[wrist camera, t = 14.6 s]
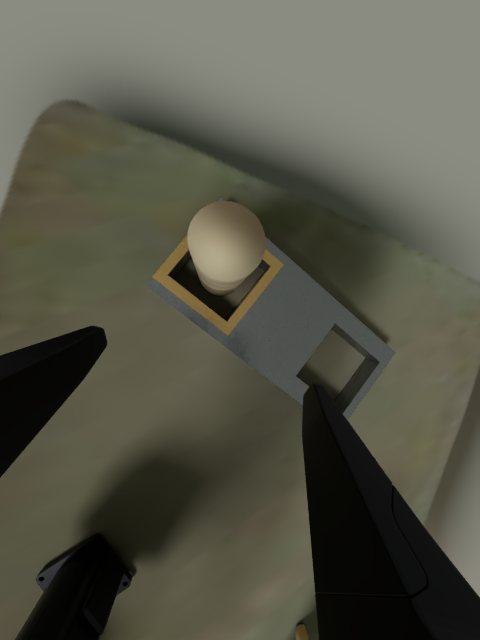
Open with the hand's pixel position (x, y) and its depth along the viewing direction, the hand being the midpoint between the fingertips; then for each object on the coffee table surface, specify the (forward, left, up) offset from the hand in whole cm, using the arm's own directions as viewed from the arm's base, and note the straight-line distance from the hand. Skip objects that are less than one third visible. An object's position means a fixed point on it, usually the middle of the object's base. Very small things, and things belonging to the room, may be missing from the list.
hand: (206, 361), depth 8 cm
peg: (+4, +5, -13) cm, 14 cm away
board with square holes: (+7, -3, -13) cm, 15 cm away
